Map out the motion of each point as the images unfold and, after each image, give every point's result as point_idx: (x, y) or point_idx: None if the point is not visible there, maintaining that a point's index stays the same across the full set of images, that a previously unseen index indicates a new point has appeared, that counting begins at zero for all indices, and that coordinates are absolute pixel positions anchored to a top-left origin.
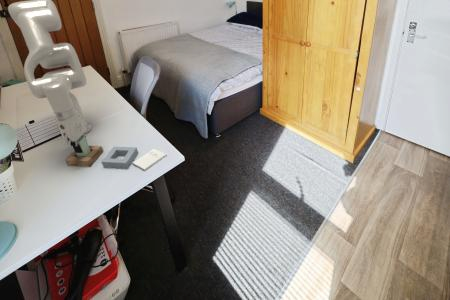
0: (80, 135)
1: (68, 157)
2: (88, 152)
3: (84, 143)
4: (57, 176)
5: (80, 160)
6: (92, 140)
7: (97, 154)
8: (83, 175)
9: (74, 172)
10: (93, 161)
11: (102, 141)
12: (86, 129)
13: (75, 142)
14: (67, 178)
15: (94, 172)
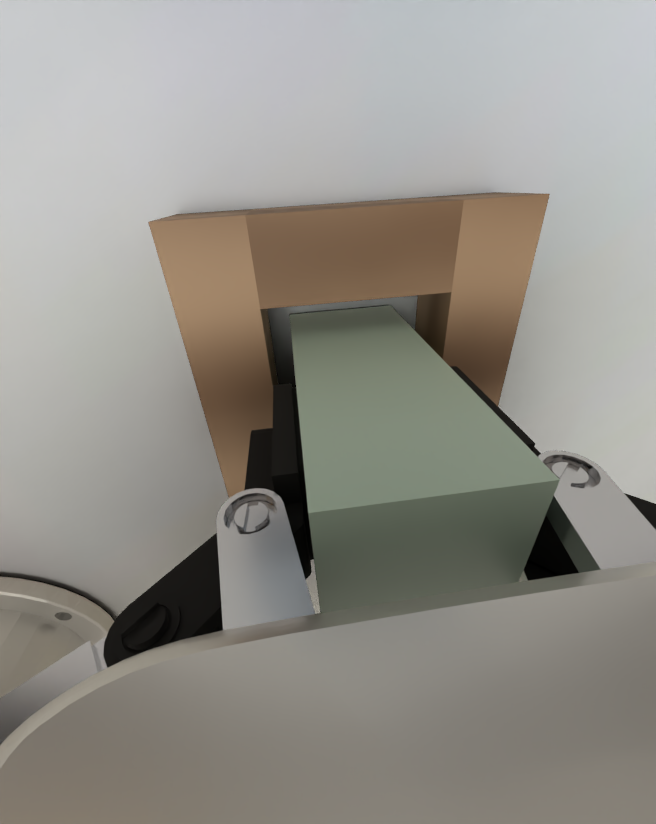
0: (636, 631)
1: None
2: (340, 333)
3: (375, 413)
4: (579, 425)
5: (512, 325)
6: (59, 475)
7: (311, 208)
8: (641, 184)
9: (560, 323)
10: (429, 197)
11: (6, 367)
12: (66, 723)
13: (648, 529)
14: (634, 331)
15: (627, 44)
